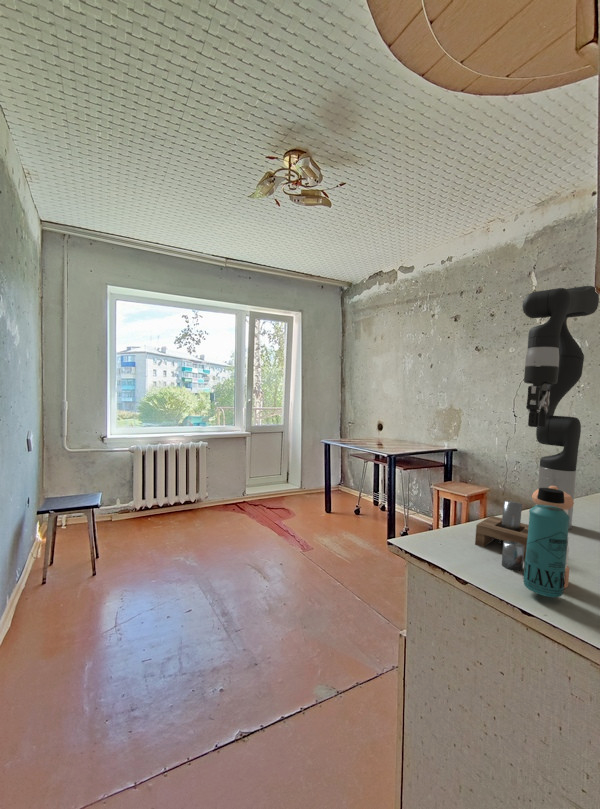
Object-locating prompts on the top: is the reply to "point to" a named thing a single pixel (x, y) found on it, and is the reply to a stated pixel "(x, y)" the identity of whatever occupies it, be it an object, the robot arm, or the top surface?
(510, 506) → the tall pin
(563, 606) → the top surface
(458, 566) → the top surface
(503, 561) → the short pin
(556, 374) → the robot arm
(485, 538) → the hole bridge
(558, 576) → the beverage bottle
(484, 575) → the top surface
